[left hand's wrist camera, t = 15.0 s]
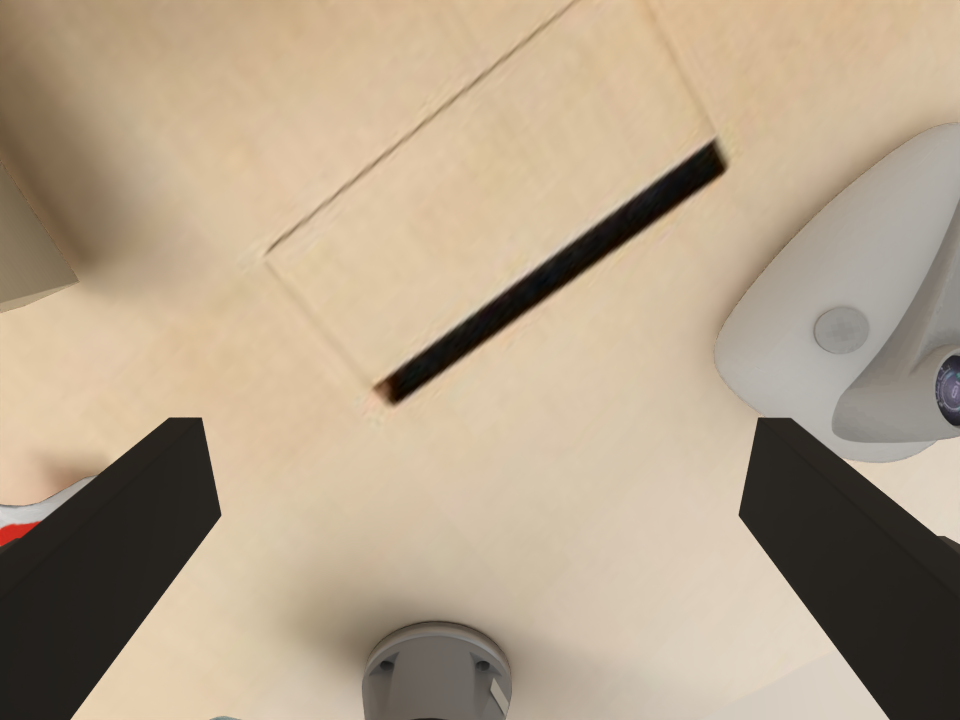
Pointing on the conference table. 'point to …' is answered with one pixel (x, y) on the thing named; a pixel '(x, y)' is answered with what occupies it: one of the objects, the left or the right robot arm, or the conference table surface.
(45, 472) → the conference table surface
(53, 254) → the bar
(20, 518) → the fish
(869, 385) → the projector
